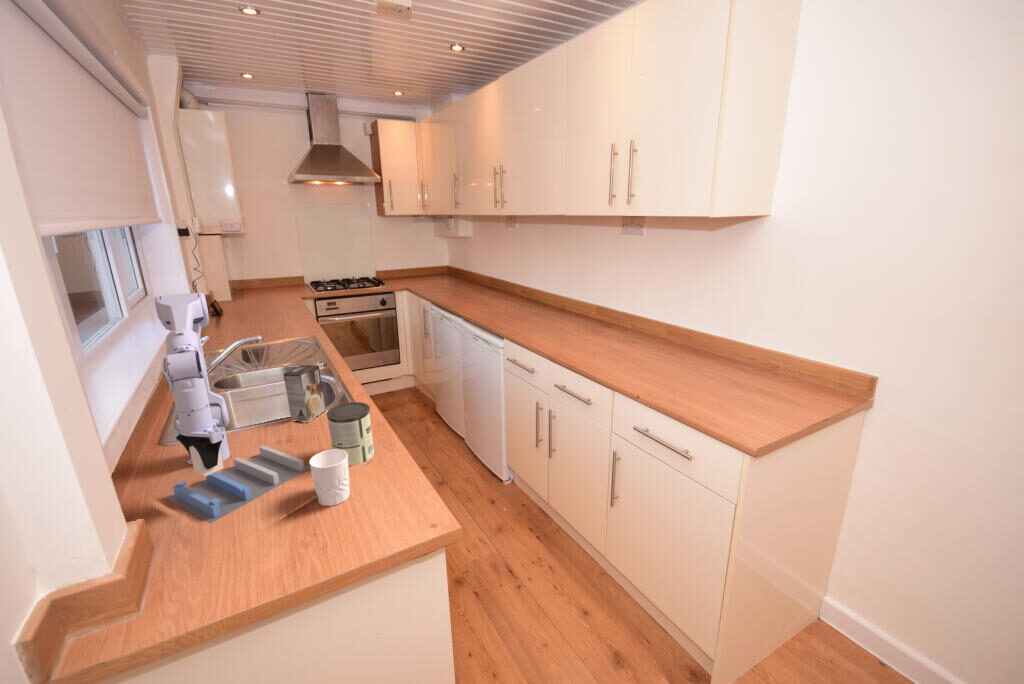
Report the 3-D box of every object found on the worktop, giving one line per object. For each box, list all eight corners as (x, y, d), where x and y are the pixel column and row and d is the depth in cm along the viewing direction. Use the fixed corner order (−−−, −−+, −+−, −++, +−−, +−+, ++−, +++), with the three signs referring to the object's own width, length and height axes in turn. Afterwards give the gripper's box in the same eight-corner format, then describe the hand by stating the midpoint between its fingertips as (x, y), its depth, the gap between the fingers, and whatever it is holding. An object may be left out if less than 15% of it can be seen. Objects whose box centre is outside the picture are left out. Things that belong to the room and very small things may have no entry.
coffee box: (309, 410, 148) (302, 364, 144) (326, 411, 147) (320, 365, 142) (290, 421, 139) (282, 373, 135) (308, 423, 138) (301, 374, 134)
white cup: (343, 483, 106) (338, 445, 103) (358, 497, 101) (353, 457, 98) (309, 497, 101) (303, 458, 98) (323, 513, 95) (317, 471, 93)
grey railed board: (167, 502, 100) (163, 486, 99) (268, 453, 120) (265, 440, 119) (211, 527, 91) (207, 510, 90) (312, 470, 112) (310, 456, 110)
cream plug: (194, 471, 98) (188, 447, 96) (213, 463, 101) (208, 439, 99) (204, 476, 96) (199, 451, 94) (223, 467, 99) (218, 443, 97)
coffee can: (334, 453, 120) (327, 404, 116) (374, 446, 123) (369, 399, 119) (332, 473, 110) (325, 421, 107) (375, 465, 114) (369, 414, 110)
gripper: (232, 406, 94) (243, 463, 98) (195, 394, 101) (207, 448, 104) (196, 419, 88) (209, 479, 92) (159, 406, 95) (173, 462, 98)
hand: (206, 464), depth 98 cm, fingers closed on cream plug, 4 cm apart
